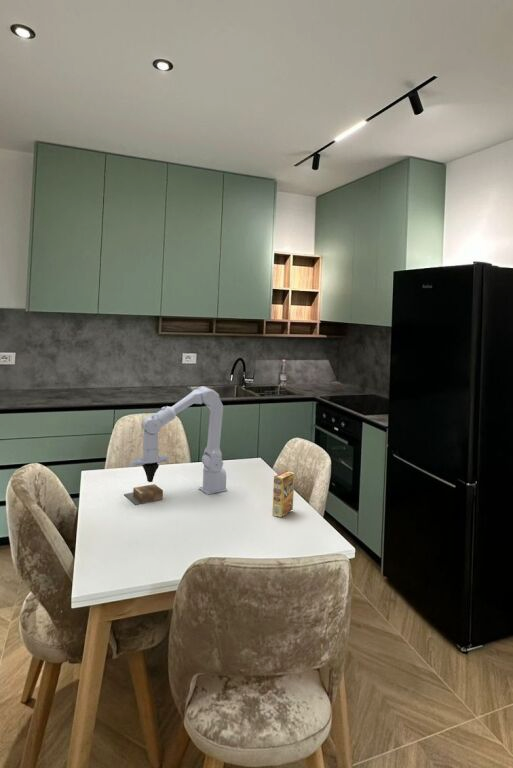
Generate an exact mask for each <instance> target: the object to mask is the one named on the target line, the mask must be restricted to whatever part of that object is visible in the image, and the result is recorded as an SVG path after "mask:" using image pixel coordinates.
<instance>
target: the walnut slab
mask: <svg viewBox="0 0 513 768" xmlns="http://www.w3.org/2000/svg"><path fill="white" fill-rule="evenodd" d="M132 493H133V496H134V497H135V498H136V499H137V500H138V501H139V502H141V503H143V502H149V501H154V500H159V499H160V500H162V499H163V498H164V490H163V489H162V488H161V487H159V486H158V485H157V484H156V483H154V484H148V485H143V486H137V487H133V490H132ZM160 500H159V501H160ZM154 502H155V501H154ZM149 503H150V502H149Z"/></svg>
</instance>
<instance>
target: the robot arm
mask: <svg viewBox="0 0 513 768" xmlns="http://www.w3.org/2000/svg"><path fill="white" fill-rule="evenodd" d="M193 404H195V405H202V404H204V405H205V406H206V407H207V408H208V409H209V420H208V432H207V443H206V444H207V445H206V446H205V448H204V452H203V455H201V456H202V457H201V463H202V464H203V468H202V469H203V470H202V471H203V472H202V486H198V489H199V490H200V491H202V492H203V493H204V494H207V495H212V494H215V493H221V492H226V491H228V489H227V472H226V469H224V468H223V466H224V461H223V458H222V457H223V454H222V451H221V448H220V447H221V435H222V426H223V418H224V417H223V416H224V415H223V414H224V405H223V403H222V400H221V398H220V394H219V393H218V392H217V391H215V390H214V389H212V388H209V387H207V386H204V385H202V386H199V387H198V388H195V389H194V390H192V391H191V392H190V393H188V394H187V395H186V396H185V397H183V398H182V399H180V400H179V401H177V402H176V403H175V404H174V405H172V406H168V405H166V406H163V407H161V409H160V410H159V411H157V412H156V413H153V414H151V416H148V417H145V418H144V420H143V421H142V423H141V428H142V429H143V435H142V436H143V437H142V440H143V441H142V442H143V443H142V457H141V458H137V459H134V460H131V466H132V467H133V468H135V467H137V466H142V468H143V470H144V473H145V476H146V480H147V482H148V483H153V482H154V477H155V475H156V472H157V471H158V468H159V466H160V465H159V463H168V462H169V456H167V455H163V456H161V455H160V456H158V455H159V432H160V431H161V428H163V427H164V426H165V425H167V424H169V423H170V422H172V421H173V420H175V419H176V416H177V414H179V413H180V412H181V411H183V410H185V409H187V408H189V407H190V406H192V405H193Z"/></svg>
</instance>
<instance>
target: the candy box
mask: <svg viewBox="0 0 513 768" xmlns="http://www.w3.org/2000/svg"><path fill="white" fill-rule="evenodd" d="M294 487H295V472H294V471H293V472H292V471H288V470H285V471H283V472H280V473H278V474H277V475H276V474H275V476H273V492H272V493H273V495H272V513H271V514H272V516H273V515H275V517H277V516H278V517H277V518H280V517H281V518H283V517H285V516H286V515H288V514H289V513H288V512H290V511H291V510H293V509H294V508H293V507H294ZM287 513H288V514H287ZM290 513H291V512H290ZM285 514H286V515H285ZM284 515H285V516H284ZM282 516H283V517H282Z"/></svg>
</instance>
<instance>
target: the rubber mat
mask: <svg viewBox="0 0 513 768" xmlns="http://www.w3.org/2000/svg"><path fill="white" fill-rule="evenodd" d="M123 496H125V497H126V499H128V500H129V501H130V502H131V503H133V505H135V506H137V505H143V504H148V503H152V502H159V501H160V500H161V499H159V500H154V501H149V502H143V503H141V502H139V501H138V500H137V499H136V498H135V497H134V496H133V492H128V493H124V494H123Z"/></svg>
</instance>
